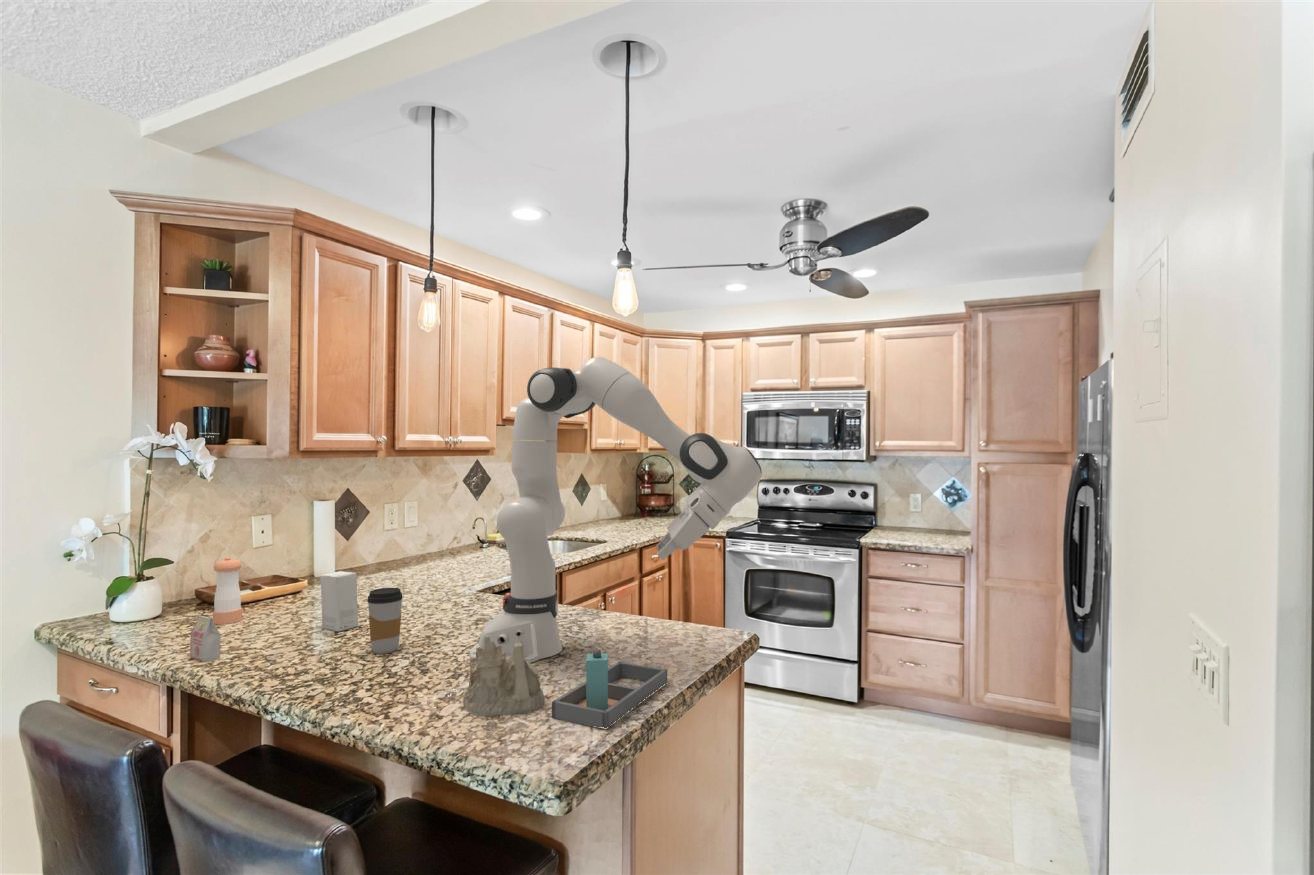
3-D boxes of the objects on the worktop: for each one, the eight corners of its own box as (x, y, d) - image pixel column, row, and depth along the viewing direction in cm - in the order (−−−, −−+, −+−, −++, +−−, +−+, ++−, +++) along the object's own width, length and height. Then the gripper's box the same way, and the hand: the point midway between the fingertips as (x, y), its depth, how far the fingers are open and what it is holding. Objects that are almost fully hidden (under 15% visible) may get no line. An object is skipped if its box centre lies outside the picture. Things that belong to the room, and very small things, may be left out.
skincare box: (358, 627, 183) (358, 572, 184) (336, 632, 178) (336, 576, 178) (341, 622, 188) (341, 570, 188) (319, 628, 182) (319, 573, 183)
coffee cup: (408, 649, 162) (408, 590, 162) (375, 657, 156) (375, 596, 156) (394, 642, 168) (393, 585, 168) (361, 650, 162) (361, 591, 162)
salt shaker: (231, 624, 187) (231, 559, 187) (206, 624, 187) (207, 559, 188) (247, 617, 194) (247, 555, 195) (224, 618, 195) (224, 555, 195)
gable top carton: (207, 653, 161) (207, 613, 161) (220, 657, 157) (220, 617, 157) (190, 657, 157) (190, 616, 158) (203, 662, 154) (203, 620, 154)
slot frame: (606, 729, 115) (606, 713, 115) (551, 717, 120) (551, 701, 120) (667, 683, 137) (667, 669, 137) (619, 675, 142) (618, 661, 142)
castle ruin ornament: (543, 712, 122) (540, 632, 123) (455, 721, 120) (453, 640, 121) (548, 687, 138) (545, 617, 139) (470, 694, 136) (467, 623, 137)
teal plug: (586, 713, 121) (586, 654, 121) (587, 704, 125) (587, 647, 125) (607, 712, 121) (607, 653, 122) (607, 704, 125) (607, 647, 126)
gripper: (689, 495, 151) (647, 536, 150) (698, 503, 130) (649, 550, 130) (708, 514, 151) (666, 555, 150) (719, 525, 130) (671, 572, 130)
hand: (658, 553), depth 140 cm, fingers open, 8 cm apart
